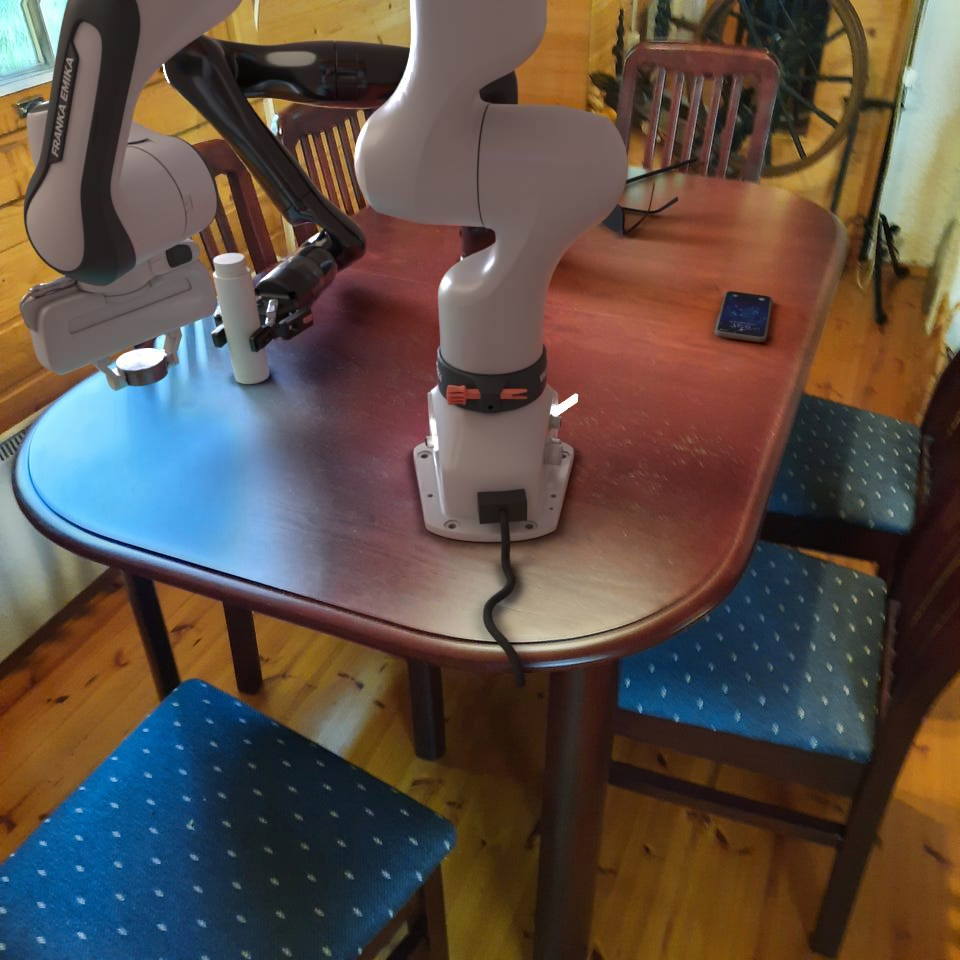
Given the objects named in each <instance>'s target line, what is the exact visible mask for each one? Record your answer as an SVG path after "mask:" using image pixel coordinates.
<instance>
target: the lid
mask: <svg viewBox="0 0 960 960" xmlns="http://www.w3.org/2000/svg"><path fill="white" fill-rule="evenodd" d="M160 350H161V349H157V348H151V347H149V348H148V347H147V348H138V349H134V350H130V351H128V352H125V353H123V354H122V355H120V356H119V357H118V358H117V359H116V361H115V367H116V368H117V369H118V370H120V371H122V372H123V373H125V376H126V381H127V382H128V386H127V387H146V386H149V385H150V386H151V385H153V384H156V383H158V382H161V381H162V380H163V379H165V378H166V377H167V376H168V374H169V369H170V368H168V365H167V361H166V358H165V356H164V354H163V352H162V351H160Z"/></svg>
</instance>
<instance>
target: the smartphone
mask: <svg viewBox="0 0 960 960" xmlns="http://www.w3.org/2000/svg"><path fill="white" fill-rule="evenodd" d="M773 302H774V301H773V298H772V297H771V296H769V295H763V294H756V293H749V292H743V291H734V290H729V291H726V292H725V293H724V295H723V299H722V301H721V306H720V310H719V312H718V317H717V319H716V322H715V328H714V334H715V335H716V336H717V337H718V338H719V337H720V338H725V339H732V340H739V341H747V342H754V343H764V342H765V341H767V338H768V333H769V328H770V318H771V313H772V307H773Z"/></svg>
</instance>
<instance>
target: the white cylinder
mask: <svg viewBox="0 0 960 960" xmlns="http://www.w3.org/2000/svg"><path fill="white" fill-rule="evenodd" d="M212 263H213V266H214V271H213V273H212V278H213V284H214V288H215V292H216V296H217V301H218V307H219V306H220V311H221V315H222V320H223V325H224V329H225V334H226V339H227V343H226V344H227V348H228V352H229V357H230V362H231V366H232V371H233V376H234V380H235V381H236V382H237V383H240V384H243V385H253V384H259V383H261V382H263V381H264V382H265V380H267V379H268V378H269V377H270V369H269V362H268V358H267V352H266V347H265V348H263V349H260V350H259V351H258V352H252V351H251V348H250V343H249V338H250V336H251V335H252V334H253V333H254V332H255V331H256V330H257V329H258V328H259V327H260V326H261V324H260V319H259V314H258V308H257V303H256V297H255V292H254V289H255V287H254V282H253V278H252V271H251V268H249V266H247V259H246V257H245V255H244V254H242V253H239V252H227V253H222V254H219V255H217V256H215V257H214V258H213V262H212Z"/></svg>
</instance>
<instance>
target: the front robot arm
mask: <svg viewBox="0 0 960 960" xmlns="http://www.w3.org/2000/svg"><path fill="white" fill-rule="evenodd" d="M242 1H243V0H67V2H66V4H65V8H64V13H63V16H62V20H61V26H60V31H59V35H58V36H59V37H58V41H57V48H56V54H55V60H54V67H53V73H52V81H51V85H50V93H49V99H48V100H47V101H44V102H41V103H38V104H36V105H35V106H33V107H32V109H31V110H30V111H29V112H28V113H27V114H26V134H27V139H28V146H29V150H30V155H31V159H32V163H33V167H34V171H33V173H32V175H31V177H30V179H29V182H28V184H27V187H26V191H25V195H24V201H23V224H24V230H25V233H26V236H27V238H28V241H29V243H30V245H31V247H32V249H33V250H34V252H35V254H36V255H37V256H38V257H39V258H40V260H41V261H42V262H43V263H44V264H45V265H47V266H48V267H49V268H51V269H52V270H53V271H55V272H57V273H58V274H60V275H62V276H60V277H56V278H54V279H52V280H49V281H47V282H45V283H38V284H35V285H33V286H31V287H29V288H28V292H27V293H25V294H24V295H22V297H21V300H20V302H19V304H18V305H19V306H18V308H19V312H20V315H21V318H22V320H23V323H24V324H25V326H26V327H27V328H28V329H29V332H30V337H31V342H32V345H33V349H34V353H35V356H36V359H37V361H38V363H39V364H40V365H41V366H42V367H43V368H45V369H47V370H48V371H50V372H52V373H55V374H56V375H60V376H63V375H67V374H68V373H72V372H73V371H74V372H75V371H76V370H79V369H81V368H84V367H86V366H88V365H92V366H94V367H95V368H96V369H97V370H98V371H100V372H101V373H103V374H104V375H105V378H106V381H107V385H108V386H109V387H110V389H112V390H113V391H115V392H118V391H120V390H122V389H124V388H126V387H129V386H128V382H127V381H126V376H125V373H123V372H122V371H120V370H118V369H117V367H116V368H114V369H110V367H108V366H110V365H112V361H111V358H110V357H111V356H113V355H116V354H118V353H122V352H123V351H125V350H128V349H131V348H133V347H136V346H138V345H141V344H143V343H146V342H148V341H151V340H153V339H155V338H158V337H161V336H163V335H164V336H165V338H164V343H163V348H162V349H159V350H160V351H162V352H163V354H164V356H165V358H166V361H167V365H168V368H169V369H171V368H174V367H175V366H178V365H180V359H179V356H178V351H179V347H180V344H181V341H182V337H183V333H182V329H181V328H183V327H185V326H188V325H190V324H193V323H195V322H198V321H201V320H203V319H206V318H208V317H210V316H213V315H214V314H215V312H216V310H217V308H218V306H219V301H218V297H217V292H216V287H215V284H214V281H213V279H212V276H211V273H210V270H209V269H208V267H207V265H206V264H205V263H204V262H203V261H201V260H200V257H201V249H200V245H199V244H198V242H197V241H195V240H193V239H192V237H194V236H195V235H197V234H199V233H201V232H202V231H204V230H205V229H206V228H207V227H209V226H210V225H212V223H214V220H215V219H216V216H217V213H218V209H219V199H220V198H219V197H220V196H219V189H218V184H217V183H218V182H217V180H216V177H215V175H214V172H213V169H212V168H211V166H210V164H209V162H208V161H207V159H206V158H205V157H204V155H203V154H202V153H201V152H200V151H199V149H197V148H196V147H195V146H194V145H192V144H191V143H190V142H188V141H186V140H184V139H183V138H181V137H179V136H177V135H172V134H169V135H168V134H167V135H165V134H163V133H160V132H158V131H155V130H153V129H152V128H151V129H150V128H149V127H147V126H145V125H143V124H140V123H139V122H137V121H136V120H134V114H135V110H136V106H137V103H138V100H139V98H140V96H141V94H142V92H143V90H144V89H145V87H146V86H147V84H148V82H150V79H151V78H152V77H153V76H154V75H156V73H157V71H159V69H160V68H162V66H163V64H164V63H166V62H167V61H168V60H169V59H170V58H171V57H172V56H174V55H175V54H176V53H177V52H179V51H180V50H181V49H183V48H184V47H185V46H187V45H188V44H189V43H191V42H192V41H194V40H195V39H197V38H198V37H200V36H201V35H205V34H206V33H207V32H209V31H210V30H212V29H213V28H215V27H217V26H218V25H220V24H221V23H222V22H224V21H225V20H227V18H229V17H230V16H231V15H232V14H233V13H234V12H235V11H236V10H237V9H239V7H240V5H241V4H242ZM547 3H548V0H409V9H410V46H409V48H410V54H409V59H408V63H407V66H406V69H405V72H404V75H403V77H402V79H401V81H400V83H399V85H398V87H397V88H396V90H395V92H394V93H393V94H392V96H391V97H390V98H389V99H388V100H387V101H386V102H385V103H384V104H383V105H382V106H381V107H379V108H376V110H375V111H374V112H373V113H372V114H371V115H369V117H368V119H366V121H365V123H364V124H363V126H362V128H361V129H360V132H359V134H358V136H357V140H356V144H355V149H354V156H353V157H354V158H353V160H354V161H353V162H354V163H353V166H354V172H355V178H356V182H357V184H358V187H359V190H360V192H361V193H362V196H363V197H364V199H365V200H366V202H367V203H368V204H369V206H370V207H371V208H372V209H373V210H374V211H375V212H376V213H377V214H380V215H381V214H382V215H385V216H389V217H392V218H395V219H400V220H404V221H407V222H412V223H416V224H418V225H419V224H420V225H432V226H433V225H434V226H456V227H460V226H474V227H486V228H490V229H492V230H494V232H495V234H496V242H495V243H494V244H492V245H491V246H489V247H488V248H486V249H484V250H481V251H479V252H477V253H474V254H472V255H470V256H468V257H466V258H464V259H462V260H461V259H460V260H459V261H458V262H455V264H454V265H452V266H451V267H450V268H449V269H448V270H447V271H446V273H445V274H444V275H443V277H442V278H441V280H440V283H439V286H438V290H437V307H438V324H439V326H438V327H439V342H440V343H439V344H440V345H439V346H438V348H437V354H436V356H437V358H436V363H435V364H436V376H437V384H436V385H435V387H434V386H433V388H432V389H431V390H430V391H428V392H427V406H428V407H427V409H428V424H429V435H426V436H425V438H424V442H422V443H419V444H417V445H416V446H415V447H414V448H413V454H412V455H413V457H412V458H413V464H414V470H415V475H416V476H415V477H416V480H417V487H418V492H419V498H420V499H419V500H420V503H421V504H420V505H421V510H422V516H423V522H424V526H425V529H426V530H427V531H428V532H429V533H432V534H434V535H437V536H440V537H443V538H448V539H452V540H457V541H466V542H477V543H478V542H480V543H501V544H500V545H501V549H500V551H501V552H500V556H501V557H500V559H501V560H500V561H501V568H502V572H503V574H504V576H505V578H506V582H505V584H504V586H503V587H502V588H501V589H500V590H498V591H497V592H496V593H495V594H493V595H492V596H491V597H490V598H489V599H488V600H487V601H485V604H484V605H483V609H482V611H483V612H482V621H483V625H484V628H485V629H486V631H487V632H488V633H489V635H490V636H491V637H492V638H493V639H494V640H495V642H496V643H497V644H498V645H499V646H500V647H501V649H502V650H503V651H504V653H505V655H506V656H507V659H508V660H509V663H510V665H511V668H512V671H513V676H514V681H515V684H516V687H518V688H524V687H525V686H526V677H525V672H524V668H523V665H522V662H521V661H522V660H521V659H520V656H519V655H518V653H517V651H516V649H515V647H514V646H513V645H512V643H511V642H510V641H509V640H508V638H507V637H506V636H505V635H504V634H503V632H501V631H500V629H499V628H498V627H497V626H496V623H495V621H494V619H493V610H494V608H495V607H496V606H497V605H498V604H499V603H501V602H502V601H504V600H505V599H506V598H507V597H509V596H510V595H511V593H512V592H513V591H514V589H515V587H516V582H517V579H516V575H515V573H514V571H513V568H512V565H511V564H512V563H511V542H518V541H527V540H531V539H536V538H539V537H543V536H546V535H548V534H550V533H552V532H554V531H556V530H557V527H558V525H559V520H560V518H561V517H560V516H561V512H562V508H563V504H564V500H565V497H566V492H567V488H568V483H569V480H570V476H571V472H572V469H573V468H572V467H573V464H574V459H575V450H574V447H573V446H571V445H570V444H568V443H566V442H563V441H561V439H560V438H558V430H560V429H561V428H562V416H559V415H560V414H562V413H563V412H565V411H566V410H568V408H571V407H572V406H574V405H575V404H577V403H578V397H579V394H577V393H574V394H573V395H571V396H570V397H569V398H567V399H566V400H565V401H562V402H561V403H560V404H559V392H557V391H556V390H555V389H554V388H553V387H552V386H551V385H550V384H549V383H548V382H547V379H548V367H549V361H548V356H547V355H548V354H547V353H548V351H547V347H546V345H545V344H544V330H545V329H544V327H545V316H546V307H547V298H548V292H549V287H550V284H551V280H552V278H553V275H554V273H555V270H556V268H557V267H558V265H559V263H560V261H561V259H562V258H563V256H564V255H565V254H566V253H567V251H569V249H570V248H571V247H572V246H573V244H574V243H576V242H577V241H578V240H579V239H580V238H581V237H582V236H583V235H585V234H586V233H587V232H589V231H590V230H592V229H593V228H595V227H596V226H598V225H600V224H601V223H602V221H603V220H604V219H606V217H607V216H608V215H609V214H610V213H611V212H612V211H613V209H614V208H615V206H616V205H617V204H619V202H620V199H621V198H622V195H623V193H624V190H625V188H626V185H627V184H626V180H628V169H629V167H628V166H629V163H628V154H627V149H626V146H625V142H624V139H623V137H622V134H621V133H620V131H619V129H618V128H617V126H616V125H615V124H614V122H613V121H612V120H611V119H610V118H609V117H608V116H605V115H602V114H598V113H594V112H591V111H587V110H584V109H579V108H574V107H570V106H566V105H565V106H564V105H558V104H557V105H554V104H553V105H549V104H520V103H518V104H491V103H488V102H484V101H483V100H482V99H481V98H480V94H479V90H480V89H481V88H483V87H484V86H486V85H487V84H489V83H491V82H492V81H494V80H497V79H499V78H501V77H503V76H505V75H507V74H509V73H510V72H512V71H516V69H518V68H519V67H521V66H522V65H523V64H525V63H526V62H527V61H528V60H529V59H530V58H531V57H532V56H533V55H534V53H535V52H536V51H537V49H539V46H540V45H541V43H542V40H543V39H544V36H545V33H546V29H547V24H548V21H547V19H548V18H547V17H548V15H547V12H548V11H547V10H548V9H547V7H548V6H547ZM625 184H626V185H625Z"/></svg>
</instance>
